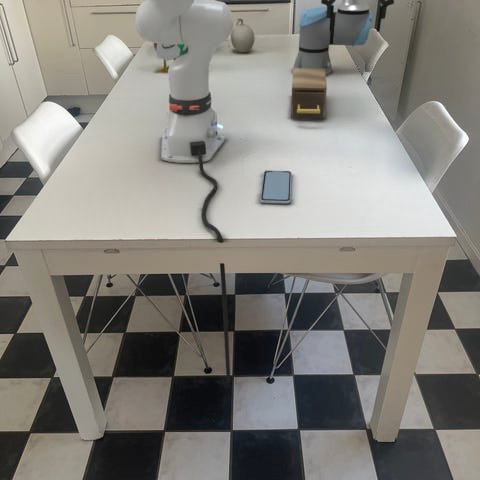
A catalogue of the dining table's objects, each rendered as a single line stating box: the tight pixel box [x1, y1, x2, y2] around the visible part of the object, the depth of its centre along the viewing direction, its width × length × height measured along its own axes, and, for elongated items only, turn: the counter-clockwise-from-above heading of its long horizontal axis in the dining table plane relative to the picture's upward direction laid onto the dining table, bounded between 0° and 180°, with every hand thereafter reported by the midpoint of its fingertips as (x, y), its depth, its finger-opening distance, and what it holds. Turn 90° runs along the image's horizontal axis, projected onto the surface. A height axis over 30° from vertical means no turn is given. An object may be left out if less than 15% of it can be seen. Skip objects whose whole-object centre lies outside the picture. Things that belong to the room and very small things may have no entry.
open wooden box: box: [290, 67, 328, 120], centre depth 172 cm, size 20×11×10 cm, turn 174°
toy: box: [153, 43, 188, 73], centre depth 204 cm, size 8×20×24 cm, turn 69°
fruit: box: [230, 18, 255, 53], centre depth 228 cm, size 10×12×15 cm
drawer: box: [292, 90, 325, 120], centre depth 167 cm, size 24×10×8 cm, turn 174°
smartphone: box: [259, 169, 293, 205], centre depth 129 cm, size 7×1×15 cm
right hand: (354, 30), depth 151 cm, fingers open, 13 cm apart
